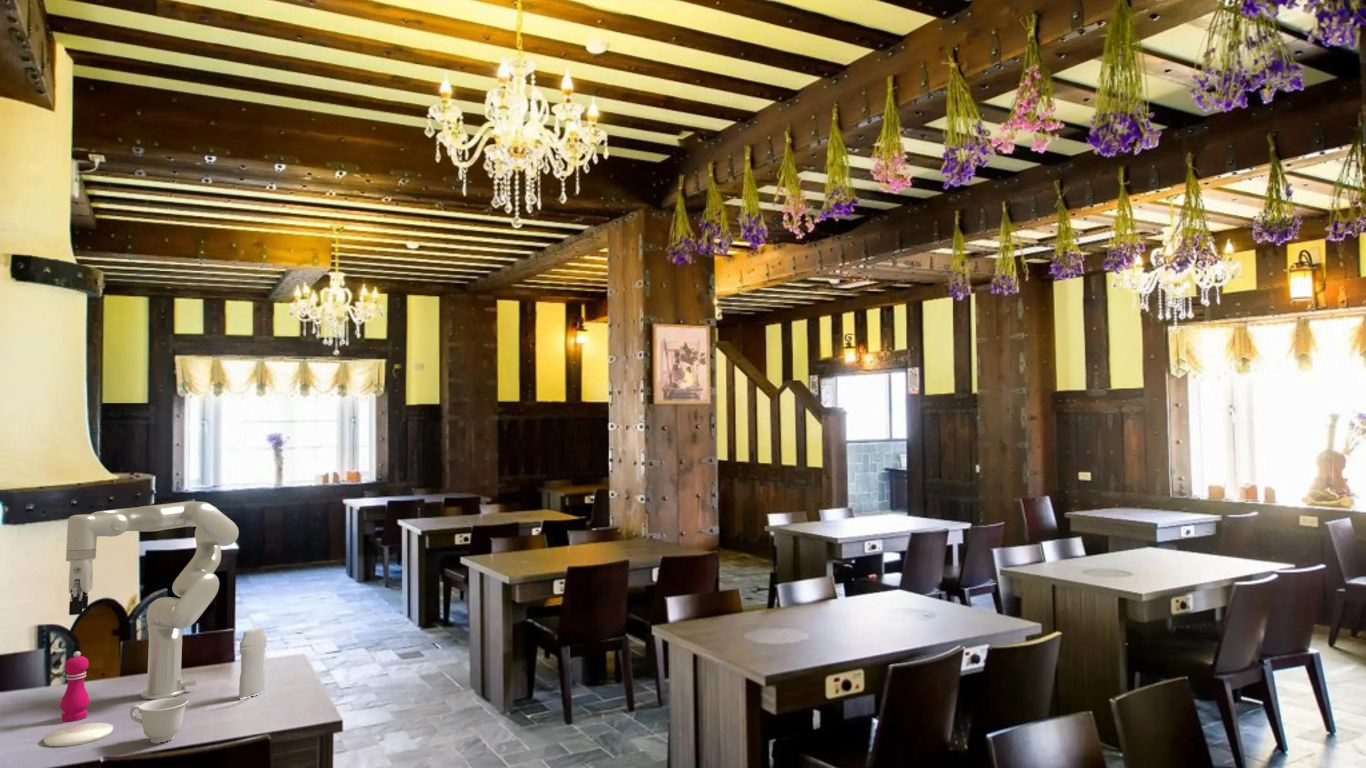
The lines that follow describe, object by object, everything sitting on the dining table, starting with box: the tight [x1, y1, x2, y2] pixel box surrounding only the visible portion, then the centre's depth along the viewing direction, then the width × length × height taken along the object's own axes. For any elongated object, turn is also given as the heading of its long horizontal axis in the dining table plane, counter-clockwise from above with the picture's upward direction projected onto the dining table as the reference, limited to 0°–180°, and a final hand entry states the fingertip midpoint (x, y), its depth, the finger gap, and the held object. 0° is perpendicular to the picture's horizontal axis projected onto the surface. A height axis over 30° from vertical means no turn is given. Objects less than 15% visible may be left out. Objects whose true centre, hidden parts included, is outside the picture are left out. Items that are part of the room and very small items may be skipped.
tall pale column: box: [238, 626, 267, 699], centre depth 278 cm, size 11×4×22 cm, turn 161°
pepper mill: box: [59, 650, 90, 723], centre depth 256 cm, size 7×7×20 cm
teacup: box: [128, 696, 189, 744], centre depth 237 cm, size 12×15×10 cm
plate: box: [43, 722, 114, 747], centre depth 240 cm, size 16×16×1 cm
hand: (78, 611), depth 257 cm, fingers open, 9 cm apart
